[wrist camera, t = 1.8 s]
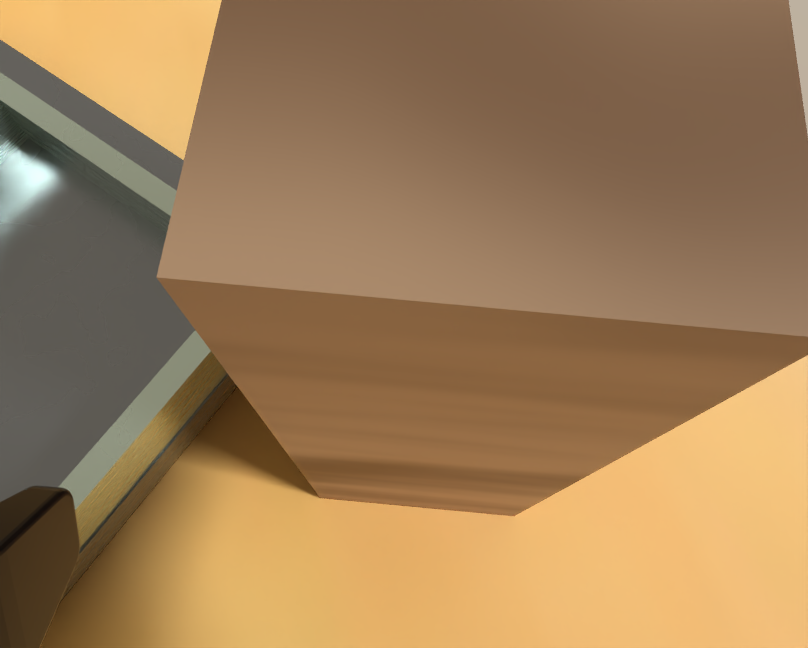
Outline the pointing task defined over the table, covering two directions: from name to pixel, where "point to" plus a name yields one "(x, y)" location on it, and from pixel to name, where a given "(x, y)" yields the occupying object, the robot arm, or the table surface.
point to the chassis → (90, 308)
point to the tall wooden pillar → (491, 232)
